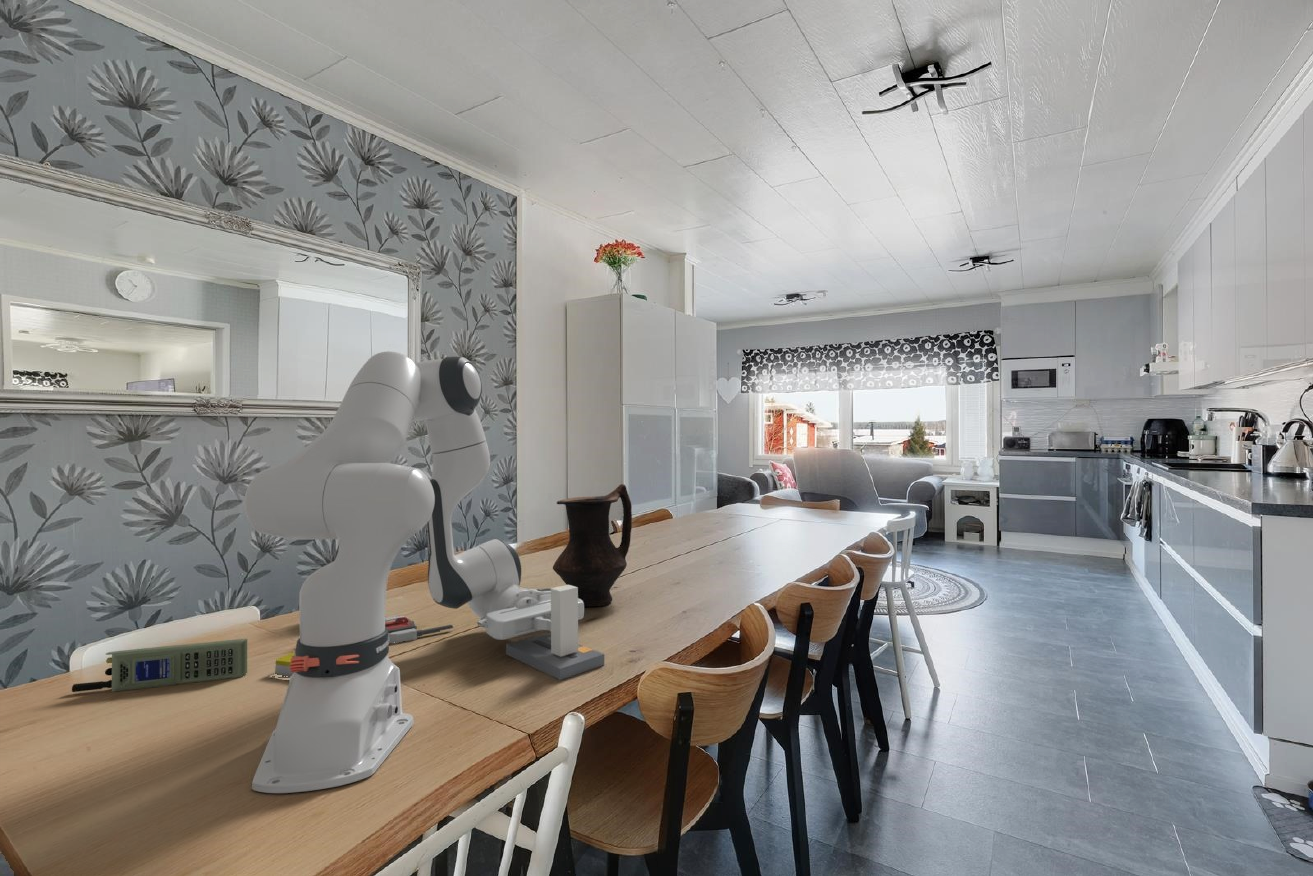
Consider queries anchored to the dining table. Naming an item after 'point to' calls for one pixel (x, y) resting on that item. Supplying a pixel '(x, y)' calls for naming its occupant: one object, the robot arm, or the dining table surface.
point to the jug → (594, 546)
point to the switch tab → (564, 620)
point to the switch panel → (553, 657)
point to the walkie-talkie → (407, 629)
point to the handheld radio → (172, 665)
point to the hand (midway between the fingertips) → (559, 625)
